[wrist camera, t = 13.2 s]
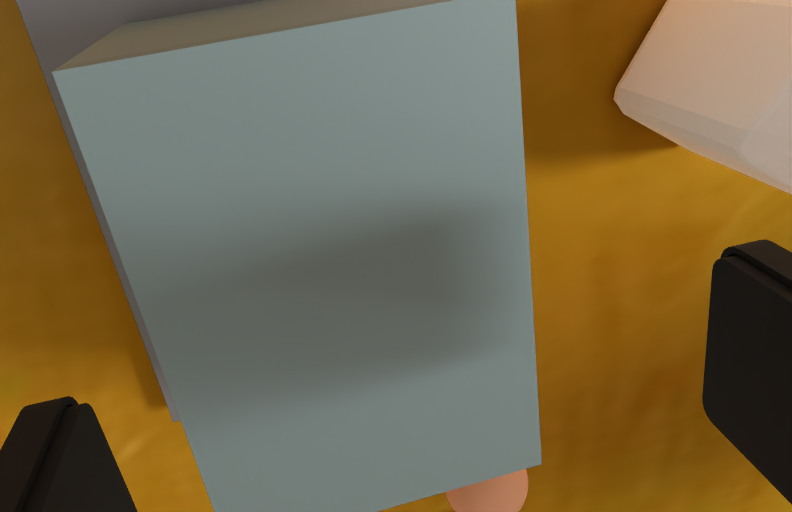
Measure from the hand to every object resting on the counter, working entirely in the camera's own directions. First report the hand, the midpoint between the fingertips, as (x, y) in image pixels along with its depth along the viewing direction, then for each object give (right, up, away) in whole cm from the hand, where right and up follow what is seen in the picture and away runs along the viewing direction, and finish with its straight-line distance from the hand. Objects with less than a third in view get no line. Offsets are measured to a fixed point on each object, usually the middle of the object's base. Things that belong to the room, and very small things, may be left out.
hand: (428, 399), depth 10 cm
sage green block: (-3, +4, +8) cm, 10 cm away
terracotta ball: (+2, -5, +15) cm, 16 cm away
